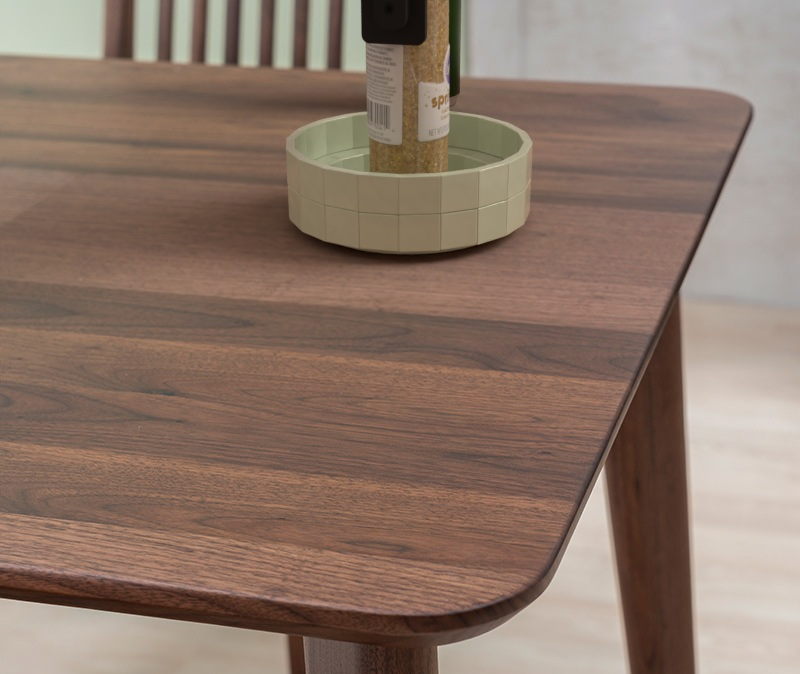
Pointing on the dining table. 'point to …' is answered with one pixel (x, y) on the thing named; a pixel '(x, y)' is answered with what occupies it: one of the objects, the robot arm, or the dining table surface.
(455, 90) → the green drink can
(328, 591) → the dining table surface
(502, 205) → the dish
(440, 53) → the sprinkles bottle
